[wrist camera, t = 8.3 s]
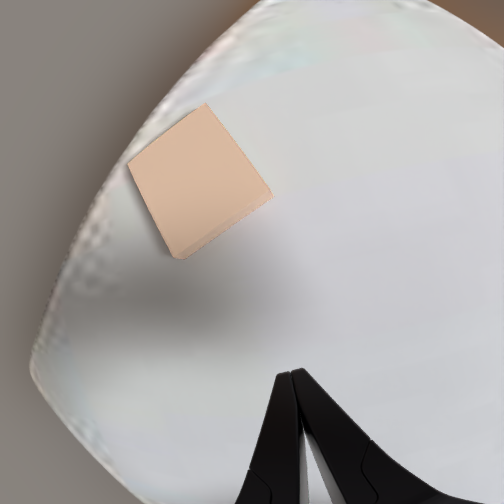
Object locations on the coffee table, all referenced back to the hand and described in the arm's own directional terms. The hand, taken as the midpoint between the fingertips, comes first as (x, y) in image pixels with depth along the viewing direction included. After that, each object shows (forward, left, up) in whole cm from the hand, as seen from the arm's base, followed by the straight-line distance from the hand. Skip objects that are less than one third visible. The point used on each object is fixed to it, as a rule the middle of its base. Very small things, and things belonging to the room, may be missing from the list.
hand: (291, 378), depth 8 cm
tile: (+6, +5, -8) cm, 11 cm away
